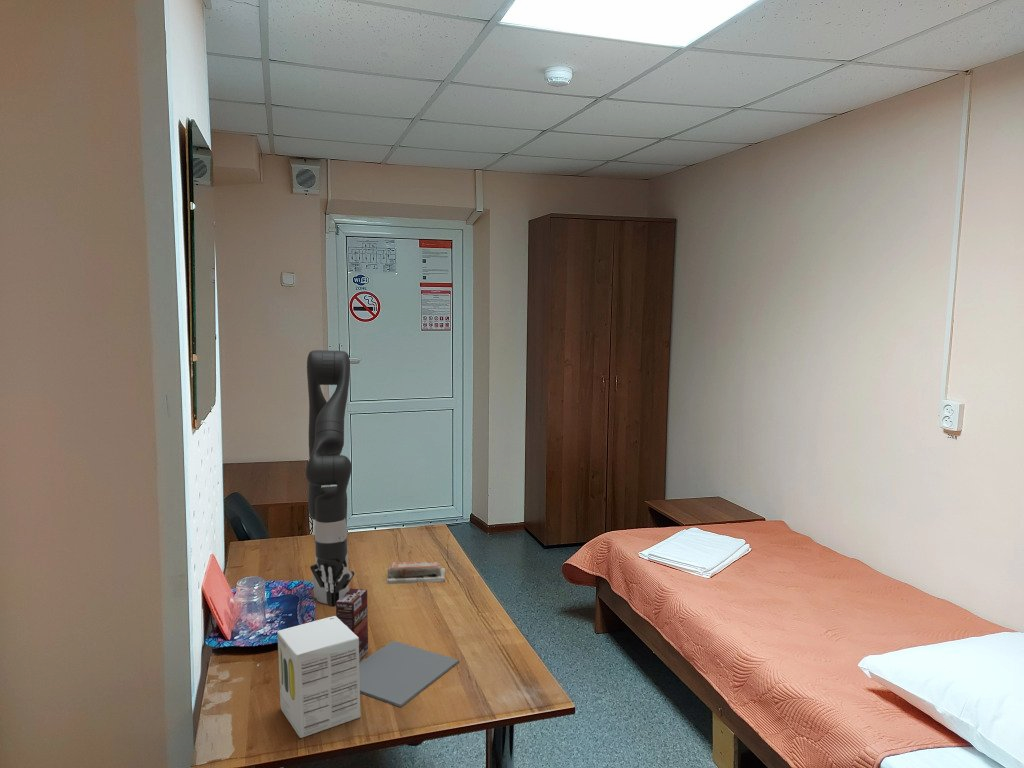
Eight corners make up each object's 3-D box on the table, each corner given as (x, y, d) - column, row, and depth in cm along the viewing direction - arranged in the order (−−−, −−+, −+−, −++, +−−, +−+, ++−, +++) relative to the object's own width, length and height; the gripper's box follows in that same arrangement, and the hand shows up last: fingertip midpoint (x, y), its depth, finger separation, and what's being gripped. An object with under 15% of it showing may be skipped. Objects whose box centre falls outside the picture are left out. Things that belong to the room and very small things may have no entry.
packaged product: (385, 570, 216) (389, 558, 226) (386, 585, 216) (389, 573, 226) (444, 568, 217) (445, 557, 227) (444, 583, 218) (445, 571, 228)
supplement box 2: (355, 668, 166) (353, 603, 164) (336, 666, 167) (334, 601, 165) (369, 650, 174) (368, 589, 172) (351, 648, 175) (349, 587, 173)
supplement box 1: (278, 708, 149) (275, 630, 147) (338, 689, 157) (336, 614, 155) (299, 739, 138) (296, 655, 136) (362, 717, 146) (360, 637, 144)
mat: (331, 682, 159) (331, 680, 159) (393, 642, 178) (393, 640, 178) (400, 707, 149) (400, 704, 149) (459, 662, 168) (459, 659, 168)
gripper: (299, 536, 170) (302, 605, 172) (340, 545, 164) (342, 617, 165) (322, 528, 177) (324, 594, 179) (362, 536, 170) (364, 605, 172)
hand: (333, 605), depth 172 cm, fingers closed
